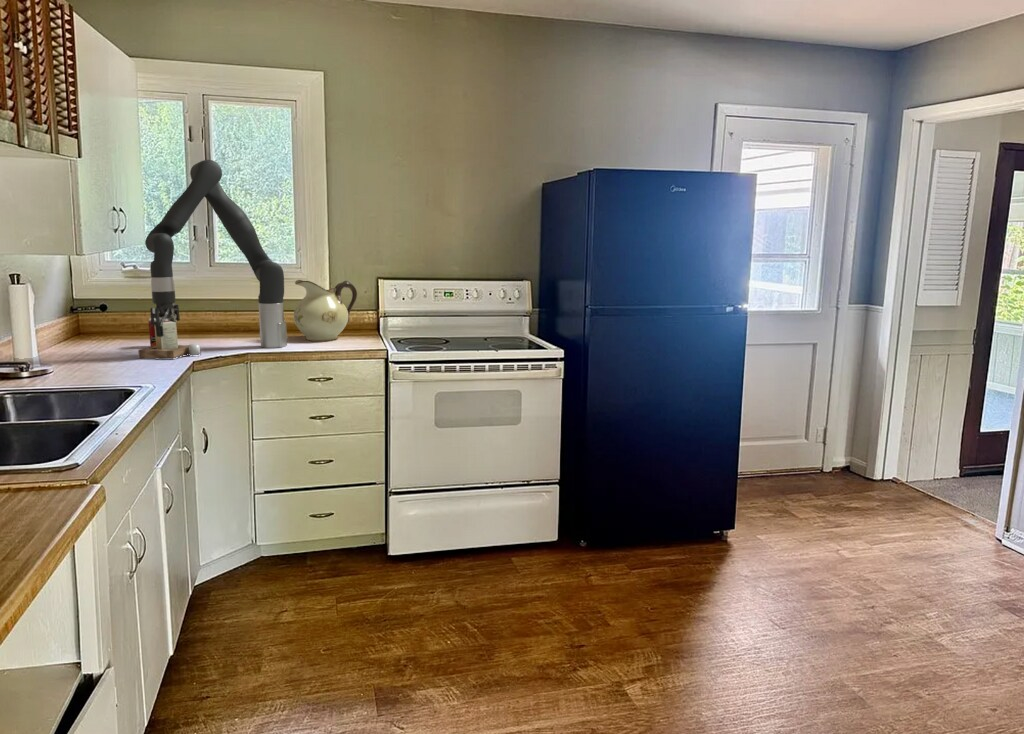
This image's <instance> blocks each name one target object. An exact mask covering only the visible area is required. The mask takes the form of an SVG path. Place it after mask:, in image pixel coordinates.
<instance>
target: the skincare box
mask: <svg viewBox="0 0 1024 734" xmlns="http://www.w3.org/2000/svg"><path fill="white" fill-rule="evenodd" d="M162 326H163V335H164V336H163V337H157V334H156V326H154V327H155V338H156V348H157V349H161V350H172V349H175V348H178V345H179V344H178V343H179V342H178V330H177V329H178V328H177V323H176V322H171V321H170V322H163V325H162Z"/></svg>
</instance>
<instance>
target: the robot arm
mask: <svg viewBox="0 0 1024 734" xmlns="http://www.w3.org/2000/svg"><path fill="white" fill-rule="evenodd" d="M189 173H190V174H189V175H190V179H191V181H190V183H189V185H188V186H187V187H186V189H185V190H184V191H183V193H181V194H180V196H179V197H178V198H177V199H176V200H175V201H174V202H173V204H172V205H171V206H170V207H169V209H168V210H167V212H166V213H165V215H164V216H163V217H162V219H161V221H160V222H158V224H157V225H155V227H154V228H152V230H151V231H149V232H148V235H147V236H146V238H145V241H144V243H145V247H146V249H147V250H148V251H149V252H151V253H153V261H151V262H150V266H149V267H150V276H151V277H150V286H151V287H150V288H151V298H152V299H151V300H152V303H153V304H154V305H156V306H155V307H151V308H150V309H149V310H150V319H151V325H154V326H156V334H157V337H163V336H164V335H163V326H162V325H163V322H164V321H165V320H166V319H168V321H169V322H170V321H171V322H176V324H177V323H178V321H179V322H180V320H181V317H180V316H181V315H180V310H179V308H180V307H179V304H175V303H176V302H177V301H176V289H175V281H174V274H173V261H174V254H175V253H174V252H175V246H174V244H175V243H174V240H173V237H174V236H175V235H177V234H179V233H180V232H181V231H182V230H183V228H184V227H185V226H186V224H187V223H188V221H189V220H190V218H191V217H192V215H193V214H194V212H195V210H196V209H197V207H198V206H199V205H200V203H201V202H202V201H203V199H204V198H205V199H206V201H208V203H209V205H210V207H211V208H212V209H213V212H214V213H215V214H216V216H217V218H218V219H219V221H220V222H221V224H222V225H223V227H224V228H225V230H226V232H227V233H228V235H229V236H230V238H231V239H232V241H233V242H234V244H235V245H236V246H237V248H238V249H239V250H240V252H241V253H242V254H243V255H244V256H245V258H246V260H247V261H248V264H249V266H250V268H251V269H252V271H253V273H254V276H255V278H256V279H257V280H258V282H259V294H258V297H257V298H258V315H259V316H258V320H259V339H260V342H259V343H260V347H261V348H265V349H267V348H268V349H270V348H271V349H272V348H273V349H274V348H283V347H286V346H288V336H287V335H288V333H287V331H288V330H287V321H285V316H284V315H285V314H284V296H285V275H284V274H285V273H284V270H283V267H282V266H281V264H279V263H277V262H274V261H273V260H272V259H271V258H270V257H269V255H268V254H267V252H266V251H265V250H264V249H263V247H262V244H261V242H260V240H259V236H258V233H257V232H256V229H255V227H254V225H253V224H252V221H251V220H250V219H249V217H248V216H247V214H246V213H245V211H244V210H243V209H242V208H241V207H240V206H239V205H238V204H237V203H236V202H235V201H234V200H233V199H231V197H229V196H228V194H227V193H226V192H225V190H224V189H223V186H222V185H221V184H220V181H221V180H222V177H223V170H222V167H221V166H220V164H219V163H218V162H216V161H215V160H212V159H203V160H200V161H199V162H197V163H195V164H193V165H192V166H191V168H190V171H189ZM154 318H155V322H154ZM159 321H160V322H159Z"/></svg>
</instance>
